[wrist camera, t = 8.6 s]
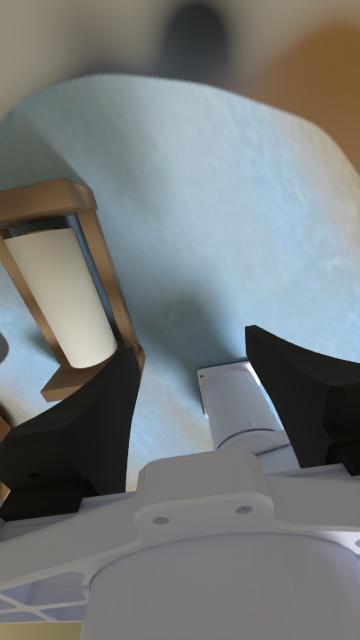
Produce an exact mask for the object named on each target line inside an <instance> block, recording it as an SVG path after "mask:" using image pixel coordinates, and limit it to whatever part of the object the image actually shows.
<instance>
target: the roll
mask: <svg viewBox="0 0 360 640" xmlns="http://www.w3.org/2000/svg"><path fill="white" fill-rule="evenodd" d="M4 242H5V244H6V246H7V248H8V249H9V251H10V253H11V255H12V257H13V259H14V261H15V262H16V264H17V266H18V268H19V270H20V272H21V274H22V275H23V277H24V279H25V281H26V283H27V285H28V287H29V288H30V290H31V292H32V294H33V296H34V298H35V300H36V301H37V303H38V305H39V307H40V309H41V311H42V313H43V314H44V316H45V318H46V320H47V322H48V324H49V326H50V327H51V329H52V331H53V333H54V335H55V337H56V339H57V341H58V342H59V344H60V346H61V348H62V350H63V352H64V354H65V355H66V357H67V359H68V361H69V363H70V365H71V366H72V367H75V368H86V367H90V366H93V365H96V364H98V363H101V362H102V361H104V360H106V359H107V358H109V357H110V356H111V355H112V354H113V353H114V352H115V351H116V349H117V342H116V340H115V337H114V335H113V332H112V329H111V327H110V324H109V322H108V319H107V316H106V314H105V311H104V309H103V306H102V303H101V301H100V298H99V295H98V293H97V290H96V288H95V285H94V282H93V280H92V277H91V275H90V272H89V269H88V267H87V264H86V261H85V259H84V256H83V254H82V251H81V248H80V246H79V243H78V241H77V238H76V235H75V233H74V230H73V228H66V229H59V230H54V229H47V230H40V231H34V232H29V233H25V234H24V235H23V236H18V237H14V238H9V239H6V240H4Z"/></svg>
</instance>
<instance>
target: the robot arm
mask: <svg viewBox="0 0 360 640" xmlns="http://www.w3.org/2000/svg"><path fill="white" fill-rule="evenodd" d="M245 341H246V355H247V357H248V359H249V361H245V362H239V363H233V364H227V365H221V366H215V367H209V368H203V369H199V370H198V371H197V375H198V380H199V386H200V391H201V396H202V402H203V407H204V413H205V418H206V419H208V420H209V424H210V430H211V435H212V441H213V446H214V451H211V452H204V453H197V454H190V455H183V456H176V457H169V458H162V459H159V460H155V461H152V462H149V463H148V464H147V465H146V466H145V467H144V468H143V469H142V470H141V471H140V472H139V476H138V483H137V491H133V492H126V493H125V489H126V472H127V459H128V449H129V439H130V430H131V423H132V417H133V413H134V409H135V404H136V400H137V395H138V391H139V386H140V377H141V370H140V367H139V364H138V361H137V358H136V355H135V352H134V349H133V346H130V347H124V348H122V349H121V350H120V351H119V352H118V353H117V354H116V355H115V356H114V357H113V358H112V359H111V360H110V361H109V362H108V363H107V364H106V365H105V366H104V367H103V368H102V369H101V370H100V371H99V372H98V373H97V374H96V375H95V376H94V377H93V378H91V379H90V380H89V381H88V382H87V383H86V384H84V385H83V386H82V387H81V388H79V389H78V390H77V391H75V392H74V393H72V394H71V395H70V396H68V397H67V398H65V399H64V400H62V401H61V402H59V403H58V404H56V405H55V406H53V407H51V408H50V409H48V410H46V411H45V412H43V413H41V414H39V415H38V416H36V417H34V418H32V419H30V420H28V421H26V422H24V423H22V424H20V425H18V426H16V427H14V428H12V429H11V430H10V431H9V432H8V433H7V435H6V436H5V437H4V439H3V440H2V441H1V442H0V481H1V482H2V483H3V484H4V485H5V486H6V487H8V488H9V489H10V490H11V491H10V493H9V495H8V496H7V498H6V500H4V499H0V624H10V623H45V622H47V623H49V622H83V624H82V629H81V633H80V638H79V640H360V363H356V362H351V361H346V360H342V359H338V358H334V357H330V356H327V355H323V354H320V353H316V352H313V351H311V350H308V349H305V348H302V347H300V346H297V345H295V344H293V343H290V342H288V341H286V340H284V339H281V338H279V337H277V336H275V335H274V334H272V333H270V332H268V331H266V330H264V329H262V328H260V327H258V326H256V325H251V326H245ZM200 375H203V376H200ZM260 382H261V384H262V385H263V387H264V389H265V390H266V392H267V394H268V395H269V397H270V399H271V401H272V403H273V405H274V407H275V409H276V411H277V414H278V416H279V418H280V420H281V422H282V425H283V427H284V429H285V430H282V429H281V427H280V425H279V423H278V421H277V419H276V417H275V415H274V414H273V412H272V410H271V408H270V406H269V404H268V402H267V400H266V398H265V396H264V394H263V393H262V391H261V389H260Z"/></svg>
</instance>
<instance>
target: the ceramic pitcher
mask: <svg viewBox="0 0 360 640" xmlns="http://www.w3.org/2000/svg"><path fill="white" fill-rule="evenodd" d="M10 430H11V427H10V426H9V425H8V424H7V423H6V422H5V421H4V420H3V418H2V417H1V416H0V442H1V441H2V440H3V439H4V437H5V436H6V435H7V433H8V432H9V431H10ZM8 491H9V488H8V487H6V486H5V485H4V484H3V483H2V482H1V481H0V499H4V498H5V496H6V495H7V493H8Z"/></svg>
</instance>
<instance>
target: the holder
mask: <svg viewBox="0 0 360 640" xmlns="http://www.w3.org/2000/svg"><path fill="white" fill-rule="evenodd" d="M97 209H98V208H97V205H96V201H95V198H94V195H93V192H92V189H89V188H87V187H84V186H82V185H79V184H77V183H74V182H72V181H69V180H66V179H64V178H60V179H56V180H51V181H47V182H42V183H38V184H33V185H29V186H24V187H20V188H15V189H11V190H6V191H2V192H0V260H1V262H2V263H3V265H4V267H5V269H6V270H7V272H8V274H9V276H10V278H11V279H12V281H13V283H14V285H15V286H16V288H17V290H18V292H19V293H20V295H21V297H22V299H23V300H24V302H25V304H26V306H27V307H28V309H29V311H30V313H31V314H32V316H33V318H34V320H35V321H36V323H37V325H38V327H39V328H40V330H41V332H42V334H43V335H44V337H45V339H46V341H47V342H48V344H49V346H50V348H51V349H52V351H53V353H54V355H55V356H56V358H57V360H58V362H59V364H60V365H61V366H60V367H59V368H58V370H57V371H56V372H55V374H54V375H53V376H52V377H51V379H50V380H49V381H48V383H47V384H46V385H45V386H44V388H43V389H42V390H41V392H40V393H41V394H42V396H43V397H44V398H45V400H46V401H47V402H52V401H59V400H64V399H65V398H67V397H68V396H70V395H71V394H72V393H74V392H75V391H77V390H78V389H79V388H81V387H82V386H83V385H84V384H86V383H87V382H88V381H89V380H90V379H91V378H93V377H94V376H95V375H96V374H97V373H98V372H99V371H100V370H101V369H102V368H103V367H104V366H105V365H106V364H107V363H108V362H109V361H110V360H111V359H112V358H113V357H114V356H115V355H116V354H117V353H118V352H115V353H113V354H112V355H111V356H110V357H109V358H107V359H106V360H104V361H102V362H101V363H98V364H96V365H93V366H90V367H86V368H75V367H72V366H71V365H70V363H69V361H68V359H67V357H66V355H65V354H64V352H63V350H62V348H61V346H60V344H59V342H58V341H57V339H56V337H55V335H54V333H53V331H52V329H51V327H50V326H49V324H48V322H47V320H46V318H45V316H44V314H43V313H42V311H41V309H40V307H39V305H38V303H37V301H36V300H35V298H34V296H33V294H32V292H31V290H30V288H29V287H28V285H27V283H26V281H25V279H24V277H23V275H22V274H21V272H20V270H19V268H18V266H17V264H16V262H15V261H14V259H13V257H12V255H11V253H10V251H9V249H8V248H7V246H6V244H5V242H4V240H6V239H9V238H13V237H12V235H11V233H10V232H9V230H8V228H11V227H16V226H21V225H26V224H30V223H35V222H40V221H45V220H49V219H54V218H59V217H64V216H68V215H73V214H77V216H78V219H79V222H80V225H81V227H82V230H83V233H84V236H85V238H86V241H87V244H88V246H89V249H90V252H91V255H92V257H93V260H94V263H95V266H96V268H97V271H98V274H99V276H100V279H101V282H102V285H103V287H104V290H105V293H106V296H107V298H108V301H109V304H110V307H111V309H112V312H113V315H114V317H115V320H116V323H117V326H118V328H119V331H120V334H121V337H122V339H123V342H124V345H125V347H130V346H133V349H134V352H135V355H136V358H137V361H138V364H139V367H140V370H141V377H140V383H141V378H142V373H143V368H144V363H145V358H146V357H145V354H144V351H143V348H140V347H139V343H138V340H137V337H136V334H135V331H134V328H133V325H132V322H131V319H130V316H129V313H128V310H127V307H126V304H125V301H124V298H123V295H122V292H121V289H120V285H119V282H118V279H117V276H116V273H115V270H114V267H113V264H112V261H111V258H110V255H109V252H108V249H107V246H106V243H105V240H104V237H103V234H102V231H101V227H100V224H99V221H98V218H97V215H96V212H95V210H97ZM139 387H140V386H139Z"/></svg>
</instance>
